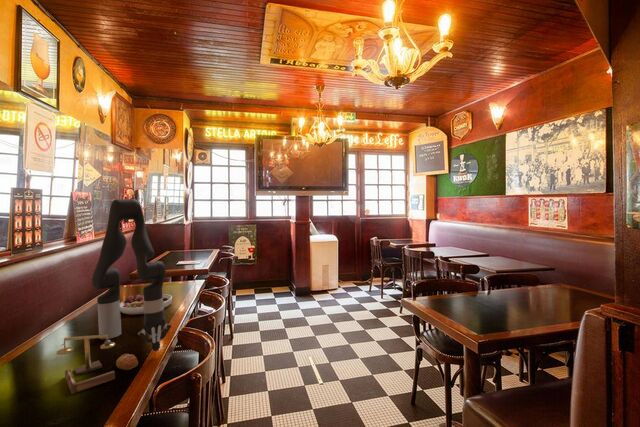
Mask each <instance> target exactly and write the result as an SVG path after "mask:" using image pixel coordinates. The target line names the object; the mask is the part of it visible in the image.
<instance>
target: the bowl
mask: <svg viewBox="0 0 640 427" xmlns="http://www.w3.org/2000/svg"><path fill="white" fill-rule="evenodd" d="M162 298H163V303H164V309H165V308H167V307H168V306H169V305H171V303H172V301H173V296H172V295H170V294H166V293H162ZM143 304H144V296H143V295H141V294H136V295H135V296H134V295H128V296H126V297H125V299H124V300H123V301H121V302H120V313H123V314H126V315H144V309H143Z"/></svg>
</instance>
